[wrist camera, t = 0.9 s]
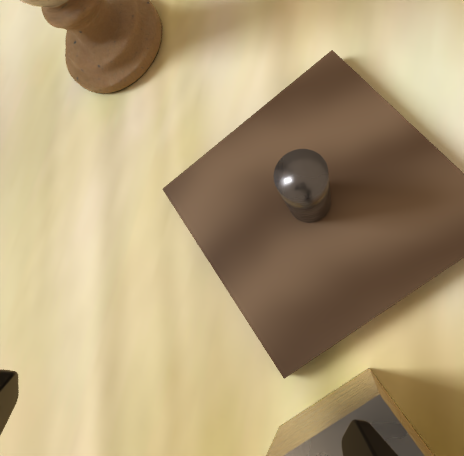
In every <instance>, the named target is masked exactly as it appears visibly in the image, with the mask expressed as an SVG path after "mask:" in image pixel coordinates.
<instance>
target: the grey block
mask: <svg viewBox="0 0 464 456" xmlns="http://www.w3.org/2000/svg"><path fill="white" fill-rule="evenodd" d="M354 419H357V420H364V421H367V422H369V423H370V424H371V425H372V426H373V428H374V429H375V430H376V431H377V432H378V433H379V434H380V435H381V437H382V438H383V439H384V440H385V441H386V442H387V443H388V445H389V446H390V447H391V448H392V449H393V450H394V451H395V453H396V454H397V455H398V456H434V455H433V454H432V452H431V451H430V449H429V448H428V447H427V445H426V444H425V443H424V441H423V440H422V439H421V437H420V436H419V435H418V433H417V432H416V431H415V429H414V428H413V427H412V425H411V424H410V422H409V421H408V420H407V418H406V417H405V416H404V414H403V413H402V412H401V410H400V409H399V408H398V406H397V405H396V404H395V402H394V401H393V400H392V398H391V397H390V395H389V394H388V393H387V391H386V390H385V389H384V387H383V386H382V385H381V383H380V382H379V381H378V379H377V378H376V377H375V375H374V374H373V372H372V371H371V370H370V368H368V369H367V370H365V371H364V372H362V373H361V374H359V375H358V376H356V377H355V378H353V379H352V380H350V381H349V382H347V383H345V384H344V385H342V386H341V387H339V388H338V389H336V390H335V391H333V392H332V393H330V394H329V395H327V396H326V397H324V398H322V399H321V400H319V401H318V402H316V403H315V404H313V405H312V406H310V407H309V408H307V409H306V410H304V411H303V412H301V413H299V414H298V415H296V416H295V417H293V418H292V419H290V420H289V421H287V422H286V423H284V424H283V425H281V426H280V427H279V428H278V430H277V433H276V435H275V437H274V439H273V441H272V444H271V446H270V448H269V450H268V452H267V455H266V456H343V452H342V437H343V435H344V433H345V431H346V430H347V428H348V426H349V424H350V422H351V421H352V420H354Z"/></svg>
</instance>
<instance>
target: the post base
mask: <svg viewBox="0 0 464 456" xmlns="http://www.w3.org/2000/svg"><path fill="white" fill-rule="evenodd" d="M163 191H164V192H165V194H166V195H167V197H168V198H169V200H170V201H171V203H172V205H173V206H174V208H175V209H176V211H177V212H178V214H179V216H180V217H181V219H182V220H183V222H184V223H185V225H186V226H187V228H188V230H189V231H190V233H191V234H192V236H193V237H194V239H195V240H196V242H197V244H198V245H199V247H200V248H201V250H202V251H203V253H204V255H205V256H206V258H207V259H208V261H209V262H210V264H211V265H212V267H213V269H214V270H215V272H216V273H217V275H218V276H219V278H220V279H221V281H222V283H223V284H224V286H225V287H226V289H227V290H228V292H229V294H230V295H231V297H232V298H233V300H234V301H235V303H236V304H237V306H238V308H239V309H240V311H241V312H242V314H243V315H244V317H245V318H246V320H247V322H248V323H249V325H250V326H251V328H252V329H253V331H254V333H255V334H256V336H257V337H258V339H259V340H260V342H261V343H262V345H263V347H264V348H265V350H266V351H267V353H268V354H269V356H270V357H271V359H272V361H273V362H274V364H275V365H276V367H277V368H278V370H279V372H280V373H281V375H282V376H283V378H286V377H287V376H289V375H290V374H292V373H293V372H295V371H296V370H298V369H299V368H301V367H302V366H304V365H305V364H306V363H308V362H309V361H311V360H312V359H314V358H315V357H317V356H318V355H320V354H321V353H323V352H324V351H326V350H327V349H329V348H330V347H332V346H333V345H335V344H336V343H338V342H339V341H341V340H342V339H344V338H345V337H347V336H348V335H349V334H351V333H352V332H354V331H355V330H357V329H358V328H360V327H361V326H363V325H364V324H366V323H367V322H369V321H370V320H372V319H373V318H375V317H376V316H378V315H379V314H381V313H382V312H384V311H385V310H387V309H388V308H390V307H391V306H392V305H394V304H395V303H397V302H398V301H400V300H401V299H403V298H404V297H406V296H407V295H409V294H410V293H412V292H413V291H415V290H416V289H418V288H419V287H421V286H422V285H424V284H425V283H427V282H428V281H430V280H431V279H432V278H434V277H435V276H437V275H438V274H440V273H441V272H443V271H444V270H446V269H447V268H449V267H450V266H452V265H453V264H455V263H456V262H458V261H459V260H461V259H462V258H464V173H462V172H461V171H460V170H459V169H458V168H457V167H456V166H455V165H454V164H453V163H452V162H451V161H450V160H449V159H448V158H447V157H445V156H444V155H443V154H442V153H441V152H440V151H439V150H438V149H437V148H436V147H435V146H434V145H433V144H432V143H431V142H429V141H428V140H427V139H426V138H425V137H424V136H423V135H422V134H421V133H420V132H419V131H418V130H417V129H416V128H415V127H414V126H412V125H411V124H410V123H409V122H408V121H407V120H406V119H405V118H404V117H403V116H402V115H401V114H400V113H399V112H398V111H396V110H395V109H394V108H393V107H392V106H391V105H390V104H389V103H388V102H387V101H386V100H385V99H384V98H383V97H382V96H381V95H379V94H378V93H377V92H376V91H375V90H374V89H373V88H372V87H371V86H370V85H369V84H368V83H367V82H366V81H365V80H363V79H362V78H361V77H360V76H359V75H358V74H357V73H356V72H355V71H354V70H353V69H352V68H351V67H350V66H349V65H348V64H346V63H345V62H344V61H343V60H342V59H341V58H340V57H339V56H338V55H337V54H336V53H335V52H334V51H333V50H332V51H330V52H329V53H328V54H327V55H325V56H324V57H323V58H322V59H321V60H319V61H318V62H317V63H316V64H314V65H313V66H312V67H311V68H310V69H308V70H307V71H306V72H305V73H304V74H302V75H301V76H300V77H299V78H297V79H296V80H295V81H294V82H293V83H291V84H290V85H289V86H288V87H286V88H285V89H284V90H283V91H282V92H280V93H279V94H278V95H277V96H275V97H274V98H273V99H272V100H271V101H269V102H268V103H267V104H266V105H264V106H263V107H262V108H261V109H260V110H258V111H257V112H256V113H255V114H253V115H252V116H251V117H250V118H249V119H247V120H246V121H245V122H244V123H242V124H241V125H240V126H239V127H238V128H236V129H235V130H234V131H233V132H231V133H230V134H229V135H228V136H227V137H225V138H224V139H223V140H222V141H220V142H219V143H218V144H217V145H216V146H214V147H213V148H212V149H211V150H209V151H208V152H207V153H206V154H205V155H203V156H202V157H201V158H200V159H198V160H197V161H196V162H195V163H194V164H192V165H191V166H190V167H189V168H188V169H186V170H185V171H184V172H183V173H181V174H180V175H179V176H178V177H177V178H175V179H174V180H173V181H172V182H170V183H169V184H168V185H167V186H166V187H164V188H163Z"/></svg>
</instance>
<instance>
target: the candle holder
mask: <svg viewBox="0 0 464 456" xmlns="http://www.w3.org/2000/svg"><path fill="white" fill-rule="evenodd" d="M20 1H22V2H24V3H27V4H30V5H32V6H39V7H42V12H43V15H44V17H45V19H46V20H47V22H48V23H49V24H51V25H52V26H54V27H57V28H64V29H66V30H67V33H66V54H65V57H66V65H67V68H68V71H69V73H70V75H71V76H72V77H73V79H74V80H75V81H76V82H77V83H79V84H80V85H81V86H82V87H84V88H85V89H87V90H89V91H92V92H95V93H112V92H116V91H119V90H121V89H123V88H126V87H127V86H129V85H131V84H132V83H134V82H135V81H136V80H137V79H139V78H140V77H141V76H142V75H143V74H144V73H145V72H146V70H147V69H148V68H149V66H150V65H151V63H152V62H153V60H154V59H155V56H156V54H157V52H158V50H159V46H160V43H161V36H162V26H161V21H160V18H159V15H158V13H157V11H156V9H155V8H154V6H153V5H152V3H151V2H150V1H149V0H20Z"/></svg>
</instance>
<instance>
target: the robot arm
mask: <svg viewBox="0 0 464 456" xmlns="http://www.w3.org/2000/svg"><path fill="white" fill-rule="evenodd" d="M18 393H19V392H18V374H17V372H15V371H10V370H0V435H1V433H2V431H3V429H4V427H5V425H6V423H7V421H8V419H9V417H10V415H11V413H12V411H13V409H14V407H15V404H16V402H17V399H18ZM342 452H343V456H398V455H397V454H396V453H395V451H394V450H393V449H392V448H391V447H390V446H389V445H388V443H387V442H386V441H385V440H384V439H383V438H382V437H381V435H380V434H379V433H378V432H377V431H376V430H375V429H374V428H373V426H372V425H371V424H370V423H369V422H367V421H364V420H357V419H354V420H352V421H351V422H350V424H349V426H348V428H347V430H346V431H345V433H344V435H343V437H342Z"/></svg>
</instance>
